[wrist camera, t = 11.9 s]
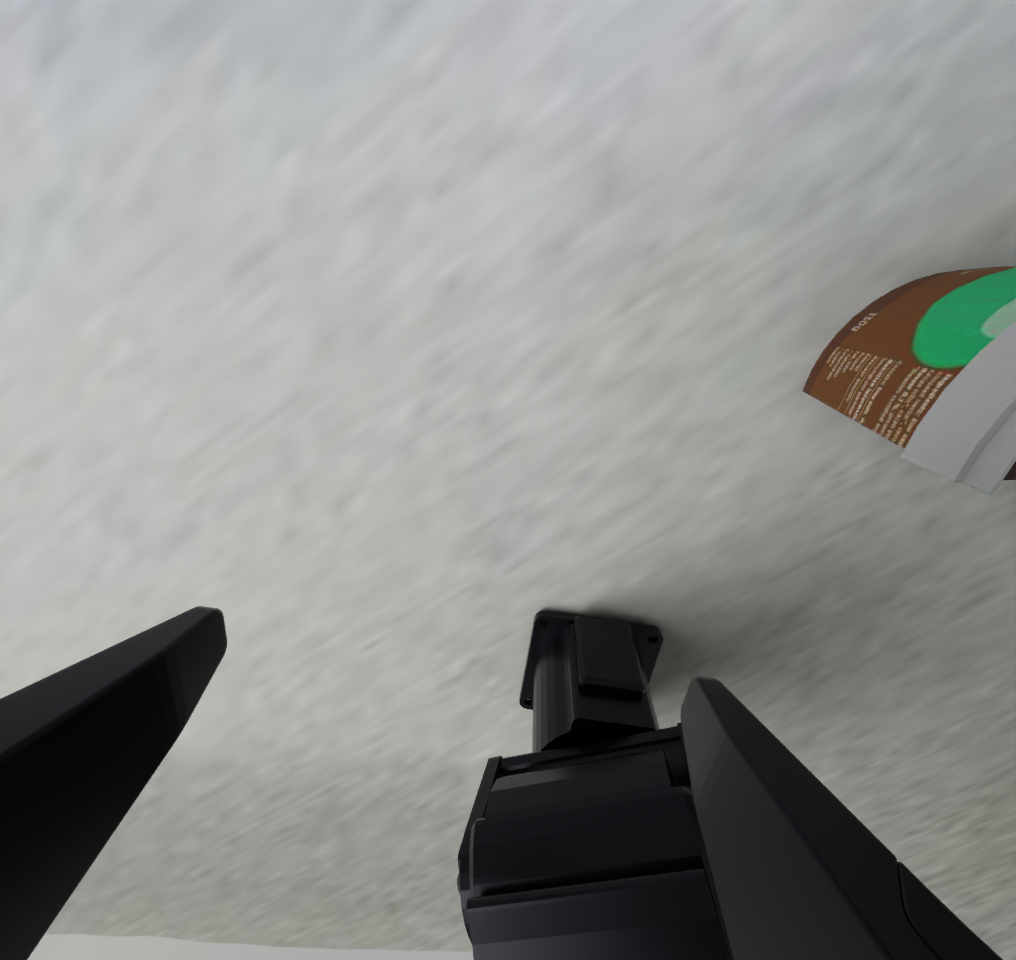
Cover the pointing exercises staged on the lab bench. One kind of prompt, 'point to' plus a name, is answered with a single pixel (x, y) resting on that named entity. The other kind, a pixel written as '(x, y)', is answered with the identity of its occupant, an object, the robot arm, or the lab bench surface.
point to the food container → (933, 373)
